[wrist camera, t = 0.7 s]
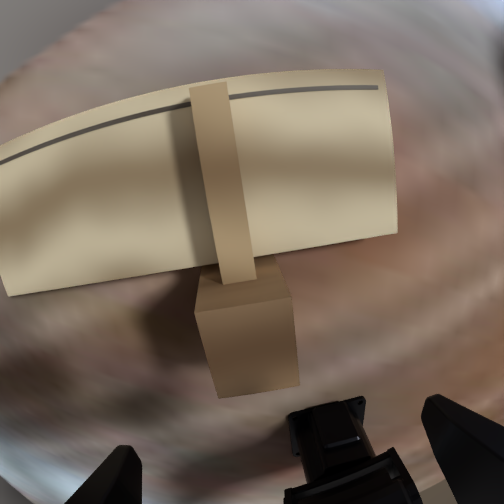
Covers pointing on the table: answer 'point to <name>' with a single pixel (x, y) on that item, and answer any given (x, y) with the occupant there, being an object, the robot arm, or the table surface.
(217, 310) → the wooden mallet
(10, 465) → the table surface
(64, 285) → the board
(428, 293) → the table surface
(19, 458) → the table surface
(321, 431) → the robot arm
